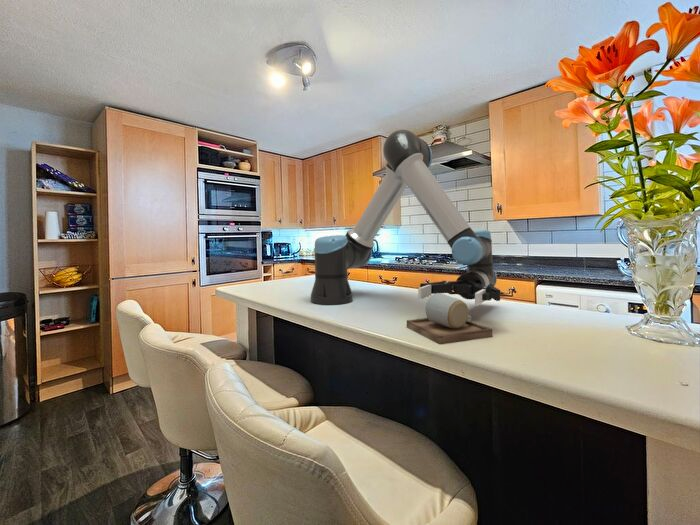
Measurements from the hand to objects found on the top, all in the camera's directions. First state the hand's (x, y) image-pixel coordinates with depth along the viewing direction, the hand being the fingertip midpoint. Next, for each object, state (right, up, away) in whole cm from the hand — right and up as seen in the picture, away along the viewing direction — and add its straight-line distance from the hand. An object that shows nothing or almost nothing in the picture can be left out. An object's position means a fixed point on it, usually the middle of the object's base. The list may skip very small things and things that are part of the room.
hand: (446, 296), depth 75 cm
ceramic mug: (+2, -7, +2) cm, 8 cm away
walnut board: (0, -9, +1) cm, 9 cm away
